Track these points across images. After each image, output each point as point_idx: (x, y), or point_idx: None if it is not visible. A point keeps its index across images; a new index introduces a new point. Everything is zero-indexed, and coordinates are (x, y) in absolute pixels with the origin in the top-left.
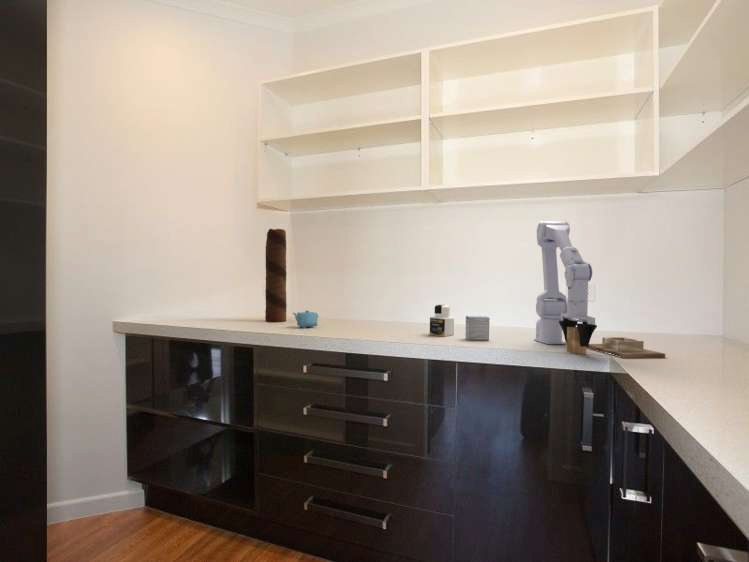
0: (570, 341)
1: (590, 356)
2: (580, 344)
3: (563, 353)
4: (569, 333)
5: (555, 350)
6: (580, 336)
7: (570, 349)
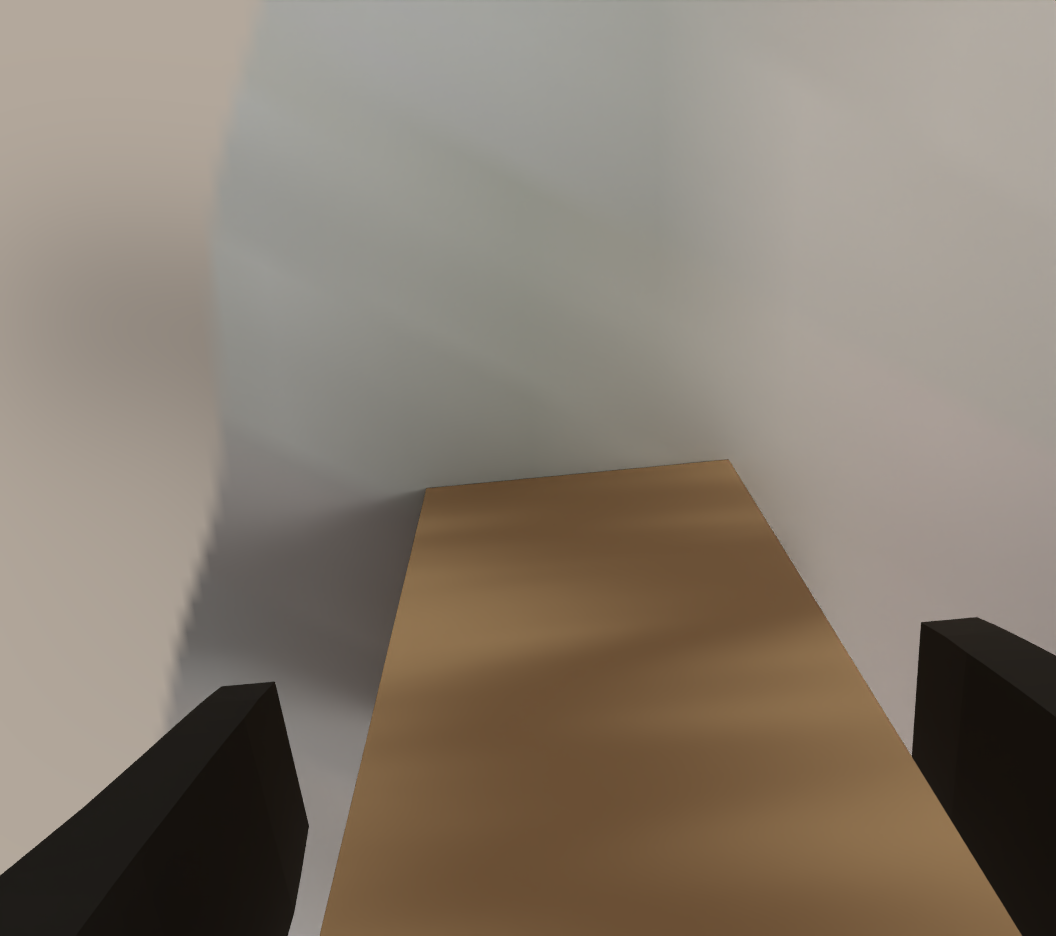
0: (605, 612)
1: (208, 694)
2: (241, 702)
3: (506, 268)
4: (729, 786)
5: (917, 259)
6: (65, 868)
7: (582, 508)
